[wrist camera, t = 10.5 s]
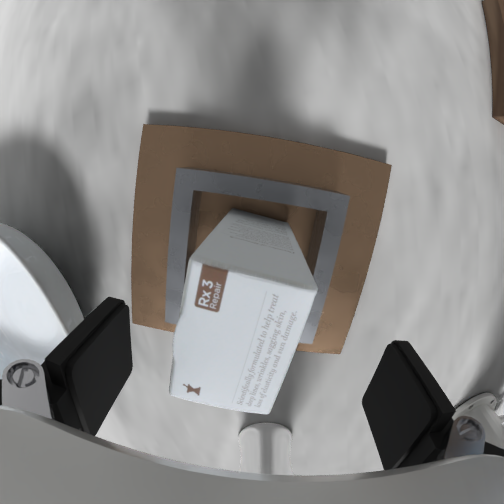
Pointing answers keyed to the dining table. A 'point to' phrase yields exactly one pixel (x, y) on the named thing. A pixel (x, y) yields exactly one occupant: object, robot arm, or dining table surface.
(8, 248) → the serving bowl
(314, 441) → the dining table surface
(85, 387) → the robot arm
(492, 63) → the square wooden tray
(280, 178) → the board with square socket
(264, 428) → the beer glass
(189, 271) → the skincare box
